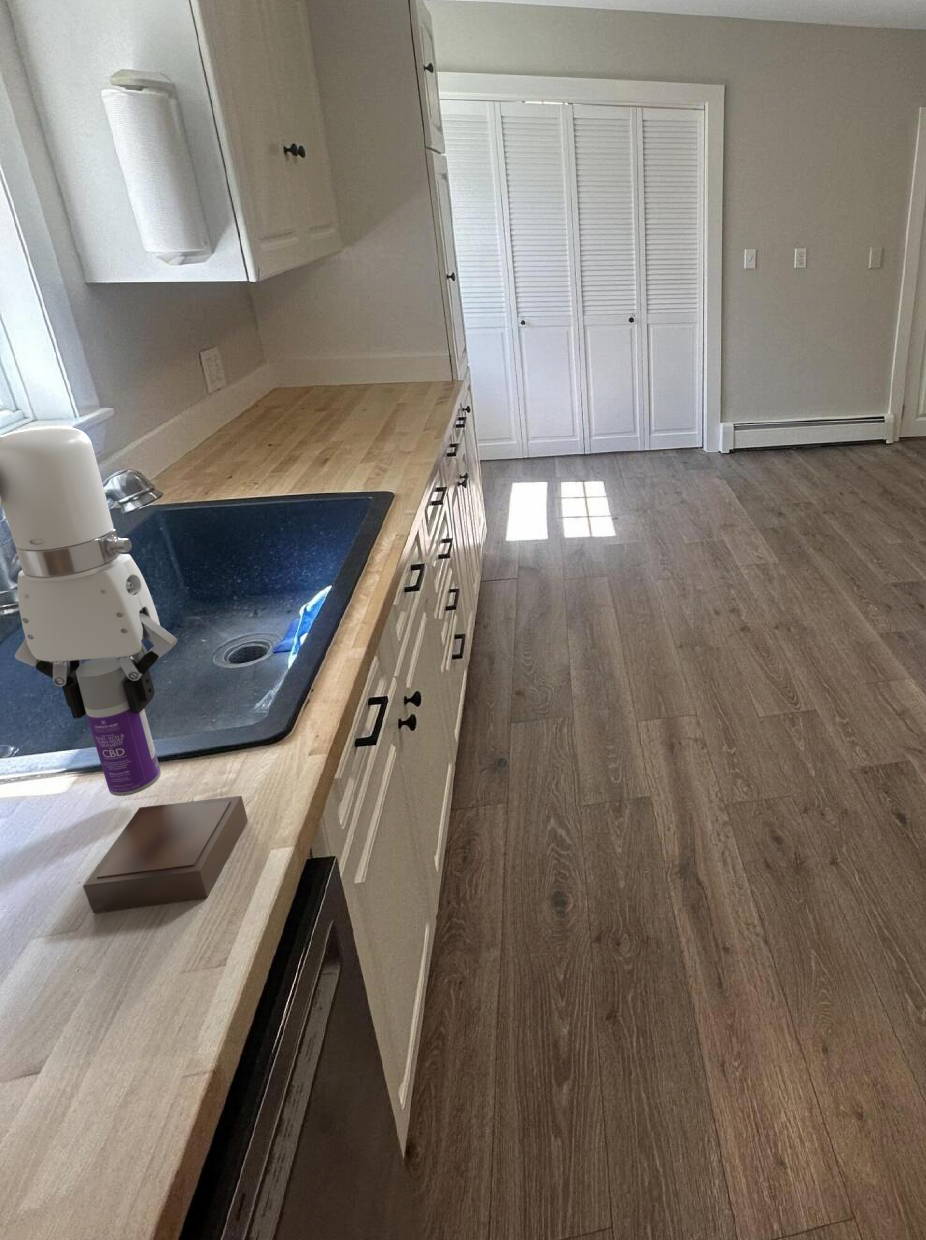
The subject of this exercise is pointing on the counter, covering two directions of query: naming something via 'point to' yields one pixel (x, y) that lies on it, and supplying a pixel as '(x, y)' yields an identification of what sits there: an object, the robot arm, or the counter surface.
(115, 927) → the counter surface
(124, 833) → the riser
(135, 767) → the container
